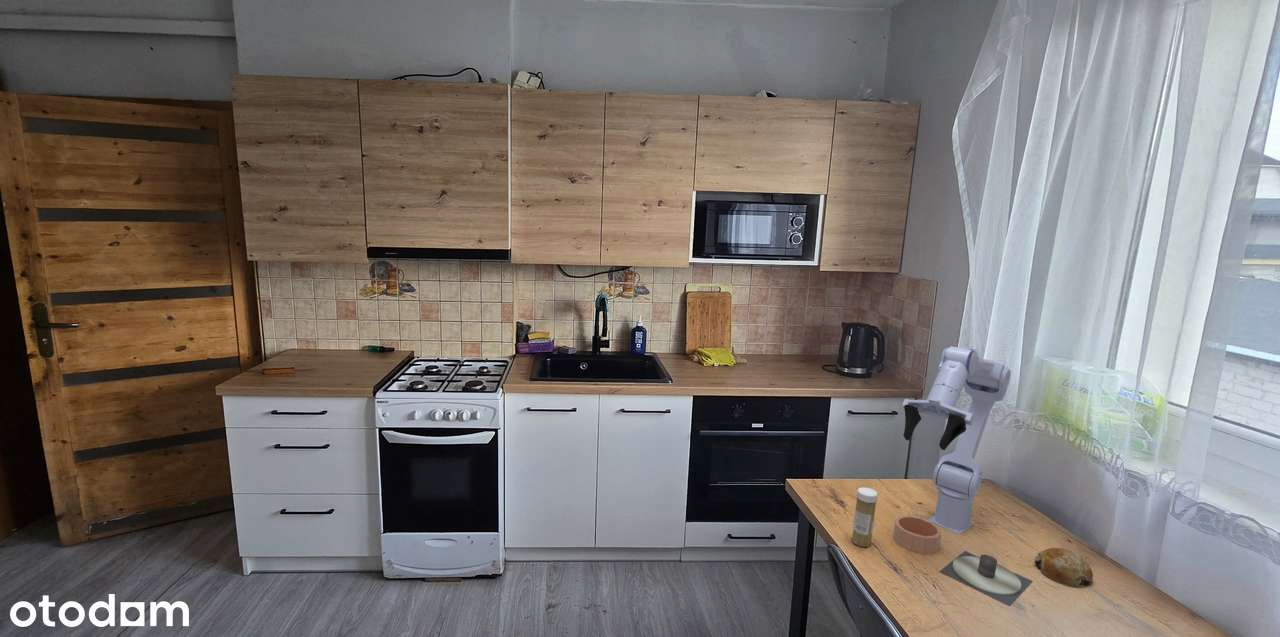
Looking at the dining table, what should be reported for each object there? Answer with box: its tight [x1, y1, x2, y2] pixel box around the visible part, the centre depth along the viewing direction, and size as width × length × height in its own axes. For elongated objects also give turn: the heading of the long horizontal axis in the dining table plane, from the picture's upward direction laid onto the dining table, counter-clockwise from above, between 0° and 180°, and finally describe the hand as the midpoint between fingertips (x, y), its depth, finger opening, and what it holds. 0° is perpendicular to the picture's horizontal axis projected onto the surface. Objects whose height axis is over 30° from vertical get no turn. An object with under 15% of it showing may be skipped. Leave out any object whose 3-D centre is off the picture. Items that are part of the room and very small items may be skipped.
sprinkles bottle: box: [851, 487, 879, 548], centre depth 137 cm, size 5×5×14 cm
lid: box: [953, 554, 1021, 596], centre depth 126 cm, size 13×13×4 cm
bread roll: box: [1034, 547, 1094, 589], centre depth 128 cm, size 10×10×8 cm
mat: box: [938, 550, 1034, 607], centre depth 126 cm, size 14×14×1 cm
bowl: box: [892, 514, 942, 555], centre depth 138 cm, size 10×10×4 cm
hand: (923, 442), depth 124 cm, fingers open, 7 cm apart
